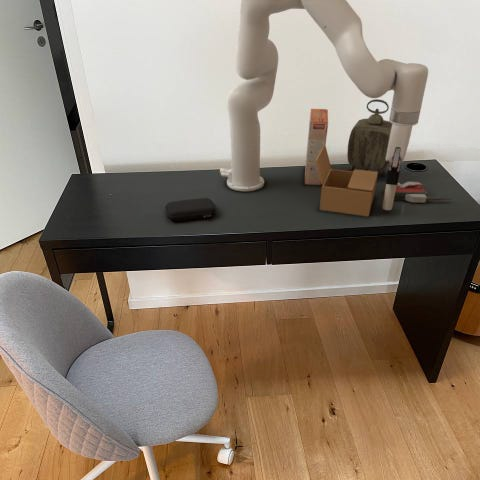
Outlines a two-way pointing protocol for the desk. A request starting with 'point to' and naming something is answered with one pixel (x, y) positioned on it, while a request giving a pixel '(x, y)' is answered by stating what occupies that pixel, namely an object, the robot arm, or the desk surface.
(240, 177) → the robot arm
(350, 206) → the carton
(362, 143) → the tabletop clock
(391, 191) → the marker
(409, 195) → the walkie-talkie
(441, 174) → the desk surface
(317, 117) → the cracker box
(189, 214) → the carrying case
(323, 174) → the flap
